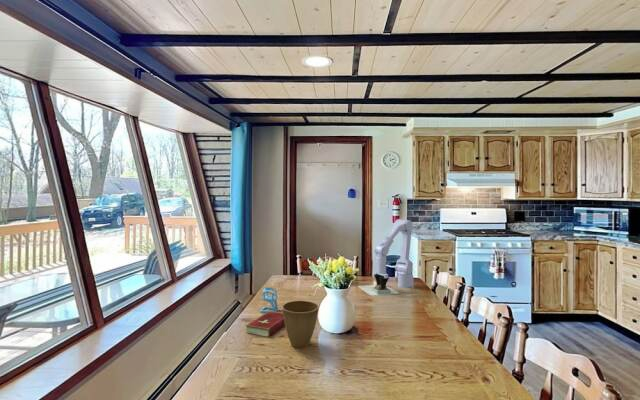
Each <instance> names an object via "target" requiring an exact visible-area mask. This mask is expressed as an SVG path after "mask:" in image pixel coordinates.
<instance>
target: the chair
mask: <svg viewBox="0 0 640 400" xmlns="http://www.w3.org/2000/svg"><path fill="white" fill-rule="evenodd" d="M265 294H266V295H265ZM269 294H271V295H269ZM277 294H278V289H276V288H273V287H265V288H263V290H262V295H263V297H262V298H261V301H265V302H267V303H269V304H270V305H271V306H267V305H265V306H264V307H263V308H261V309H260V311H259V312H260V314H261V313H263V314H265V313H266V312H268V311H273V312H279V307H278V302H277V299H278V295H277ZM265 309H267V310H265Z"/></svg>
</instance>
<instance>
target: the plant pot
mask: <svg viewBox="0 0 640 400" xmlns="http://www.w3.org/2000/svg"><path fill="white" fill-rule="evenodd" d="M319 307H320V306H319V304H317V303H315V302H313V301H308V300H292V301H291V300H290V301H288V302H286V303H283V305H282V313H283V316H284V322H285V330H286V333H287V337H288V339H289V342H290V346H292V347H294V348H299V349H300V348H301V349H302V348H306V347H308V346H310V343H311V340H312V337H313V334H314V331H315V327H316V324H317V323H316V322H317V318H318V314H319Z"/></svg>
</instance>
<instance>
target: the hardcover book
mask: <svg viewBox="0 0 640 400" xmlns="http://www.w3.org/2000/svg"><path fill="white" fill-rule="evenodd" d="M284 325H285V322H284V316H283V312H279V311H277V312H273V311H268V312H266V313H263V314H261V315H260V316H257V318H255V319H253V320H252V321H251V320H250V322H248V323H246V324H245V325H244V326H245V327H246V334H251V335H257V336H263V337H268V338H270V337H271V336H272V335H273V334H275V333H276V332H278V331H279V330H281V329H282V328H283V327H284ZM280 328H281V329H280Z"/></svg>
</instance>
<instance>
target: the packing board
mask: <svg viewBox="0 0 640 400" xmlns="http://www.w3.org/2000/svg"><path fill="white" fill-rule="evenodd" d="M357 287H358V288H359V289H360V290H362V291H363V292H365V293H366V294H367V295H369V296H382V295H383V296H384V295H396V294H399V291H397V290H395V289H394V288H391V287H390V286H388V285H386V290H377V289H375V286H374V284H368V285H367V284H365V285H364V284H363V285H357Z"/></svg>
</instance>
